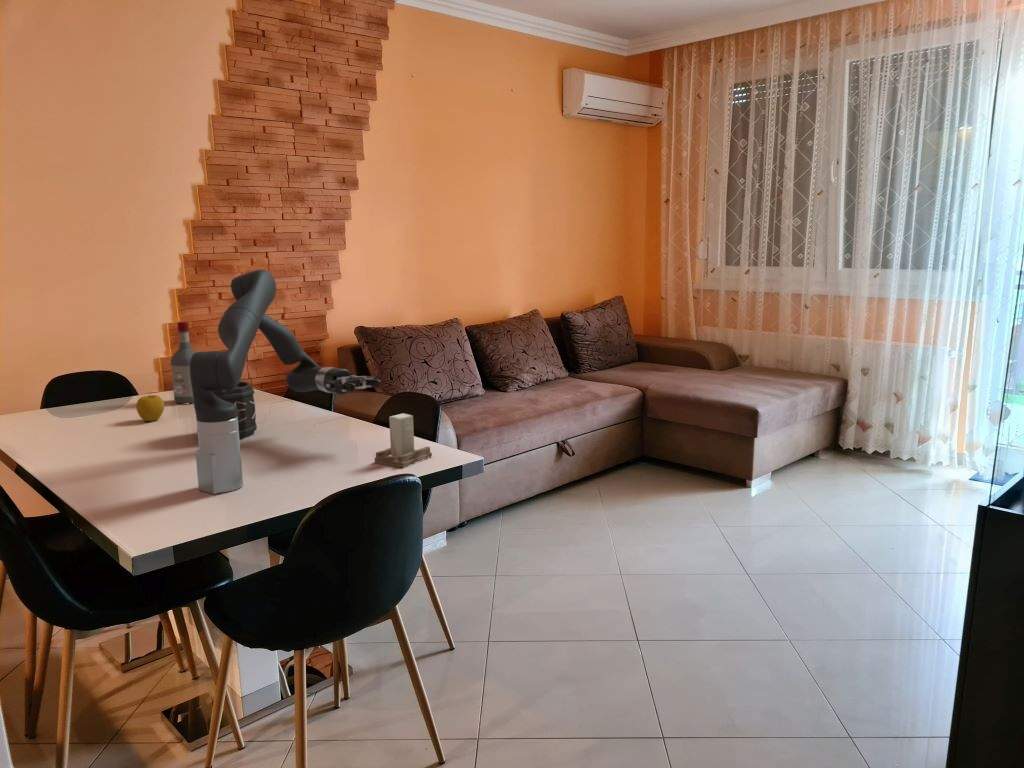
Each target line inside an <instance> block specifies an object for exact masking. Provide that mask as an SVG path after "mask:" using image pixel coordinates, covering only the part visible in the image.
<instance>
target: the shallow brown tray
mask: <svg viewBox="0 0 1024 768" xmlns="http://www.w3.org/2000/svg"><path fill="white" fill-rule="evenodd" d="M431 456H432V457H433V453H432V452H431V447H430V446H424V447H421V448H419V449H414V451H413V452H410V453H407V454H404V455H402V456H399V457H395V456H391V447H389V448H385V449H383V450H379V451H377V452H375V457H374V463H376V464H380V463H381V465H385V464H386V465H385V466H390V465H391V467H395V466H397V467H396V468H400V467H405V466H407V467H409V466H408V465H410V464H413V463H415V462H418V461H420V462H422V461H421V460H423V459H426V458H428V457H431ZM432 457H431V458H432ZM428 459H429V458H428ZM426 460H427V459H426ZM423 461H424V460H423ZM418 463H419V462H418ZM415 464H416V463H415ZM413 465H414V464H413ZM410 466H411V465H410ZM405 468H406V467H405Z"/></svg>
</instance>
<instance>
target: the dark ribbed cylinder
mask: <svg viewBox="0 0 1024 768" xmlns="http://www.w3.org/2000/svg"><path fill="white" fill-rule="evenodd" d="M251 385H252V384H251V382H248V381H242V380H240V382H239V384H238V385H237V387H235V388H234V389H231V390H212V392H213V394H214V395H215V396H217V397H218V398H220V399H222V400H224V401H227V402H230V403H233V404H234V405H236V407H237V412H238V426H239V439H240V440H244V439H243V438H245V439H247V438H249V436H250V437H252V436H254V435H255V431H257V428H258V426H257V422H256V417H257V416H256V413H257V412H256V403H255V398H254V394H255V390H254V387H253V386H251ZM196 434H198V431H196ZM253 434H254V435H253ZM251 435H252V436H251ZM246 437H247V438H246Z"/></svg>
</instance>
